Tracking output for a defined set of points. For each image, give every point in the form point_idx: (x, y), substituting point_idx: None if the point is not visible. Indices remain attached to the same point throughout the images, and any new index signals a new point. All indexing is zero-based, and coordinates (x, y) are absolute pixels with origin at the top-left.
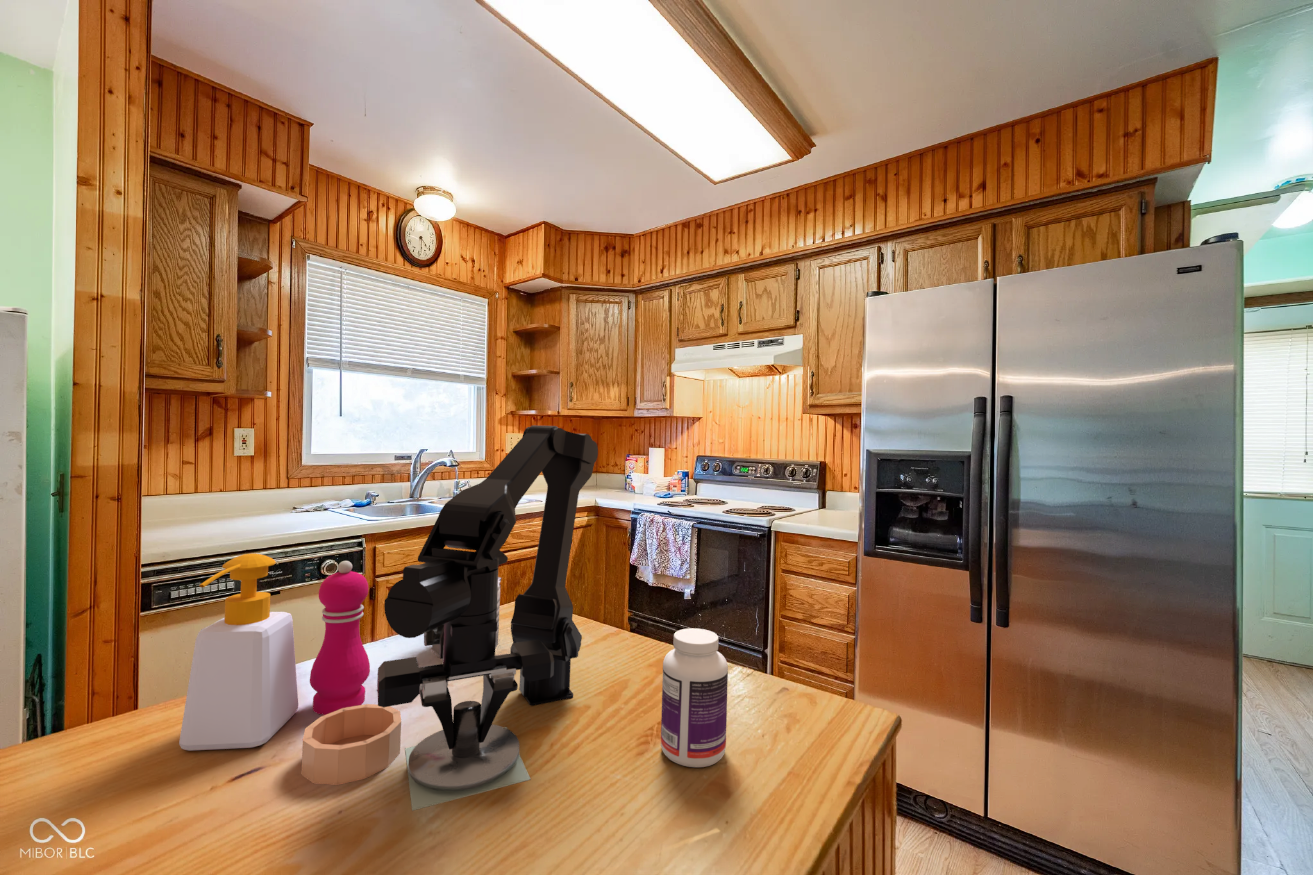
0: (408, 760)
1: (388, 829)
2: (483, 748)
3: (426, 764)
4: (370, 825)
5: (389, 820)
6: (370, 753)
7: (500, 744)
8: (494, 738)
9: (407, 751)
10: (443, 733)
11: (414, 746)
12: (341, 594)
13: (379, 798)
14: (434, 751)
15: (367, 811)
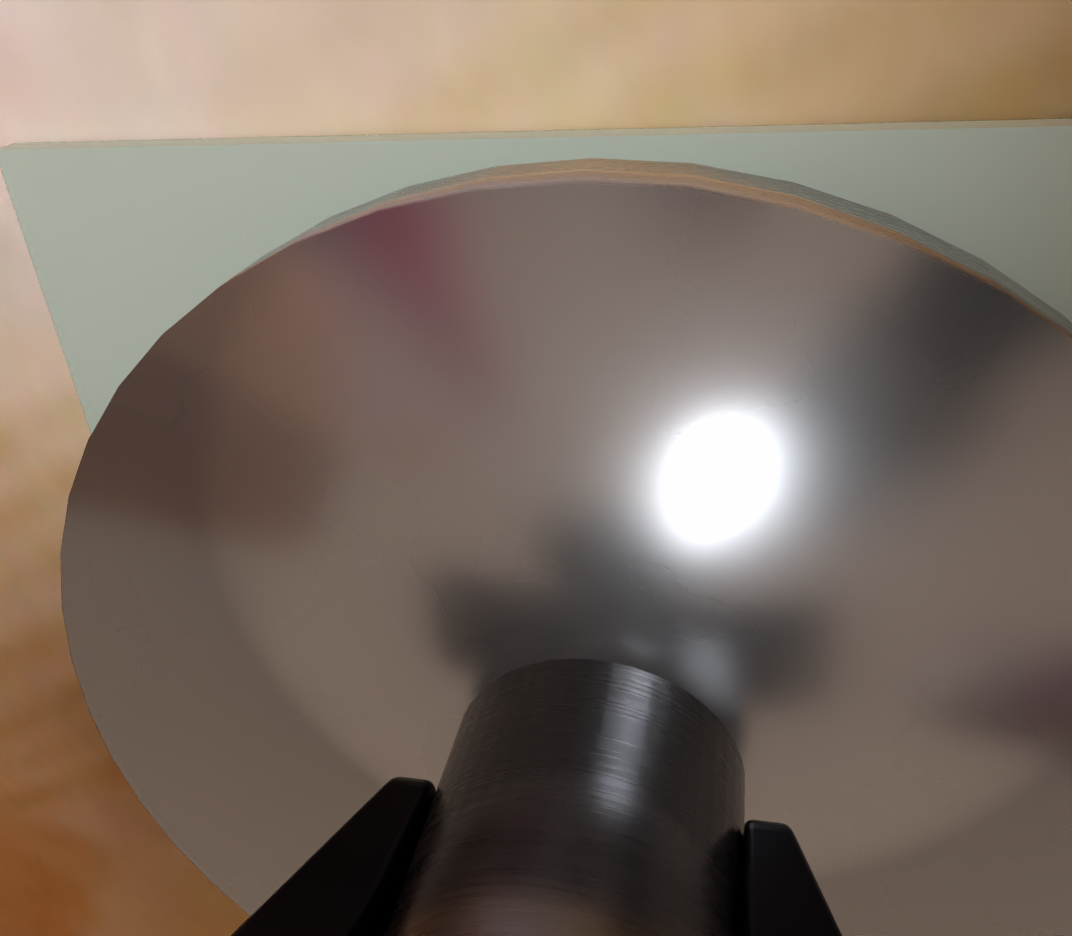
0: (99, 407)
1: (170, 929)
2: (784, 816)
3: (244, 783)
4: (72, 870)
5: (157, 884)
6: None
7: (988, 844)
8: (978, 713)
9: (41, 240)
10: (356, 339)
11: (88, 156)
12: None
13: (38, 708)
14: (287, 655)
15: (13, 777)
